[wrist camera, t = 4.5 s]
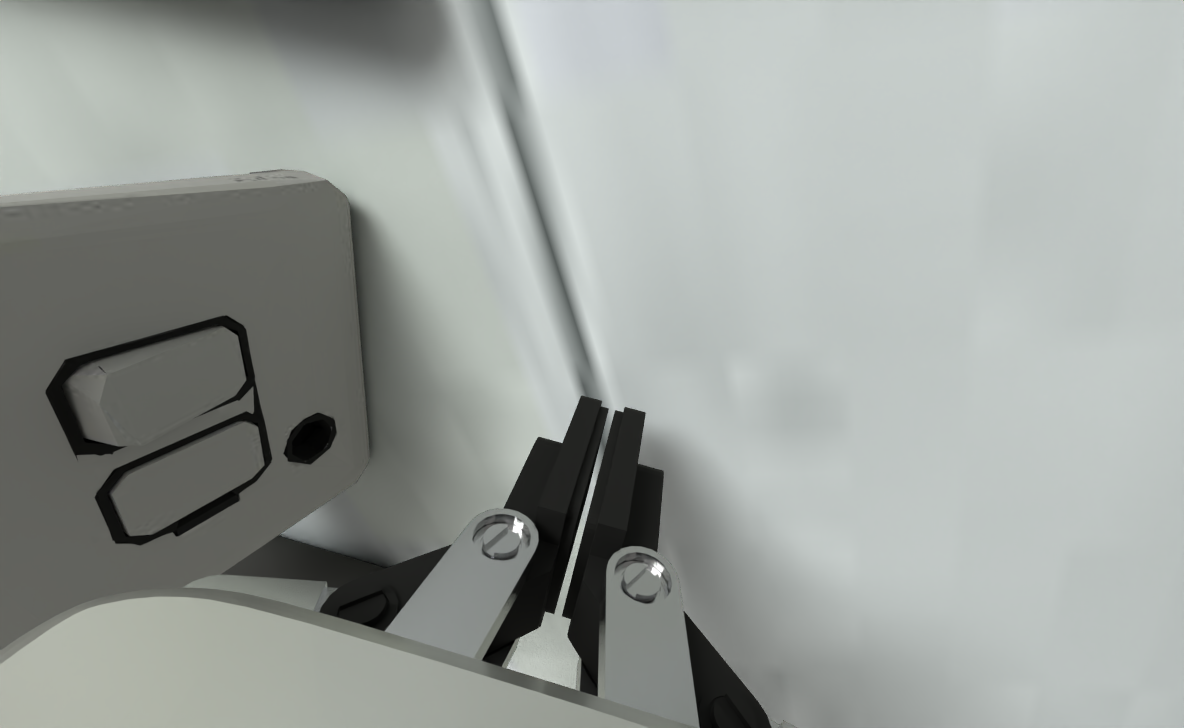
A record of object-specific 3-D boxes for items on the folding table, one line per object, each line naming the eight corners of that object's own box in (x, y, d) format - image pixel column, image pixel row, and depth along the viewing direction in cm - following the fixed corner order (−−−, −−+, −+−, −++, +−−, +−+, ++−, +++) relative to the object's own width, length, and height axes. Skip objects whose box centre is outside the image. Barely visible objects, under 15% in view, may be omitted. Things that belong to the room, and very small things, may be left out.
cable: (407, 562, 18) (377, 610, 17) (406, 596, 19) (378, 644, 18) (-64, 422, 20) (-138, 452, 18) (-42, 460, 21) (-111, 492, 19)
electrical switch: (378, 468, 16) (25, 800, 8) (249, 424, 17) (-181, 686, 9) (358, 173, 12) (-431, 281, 4) (185, 133, 13) (-745, 157, 5)
